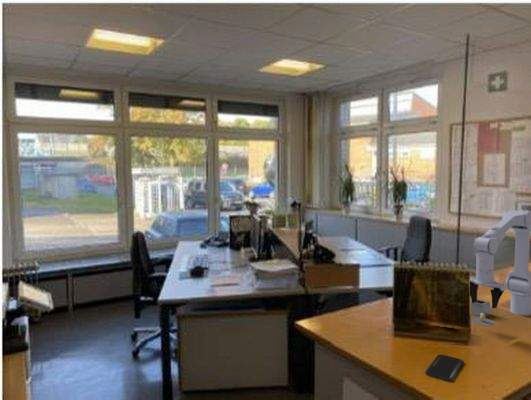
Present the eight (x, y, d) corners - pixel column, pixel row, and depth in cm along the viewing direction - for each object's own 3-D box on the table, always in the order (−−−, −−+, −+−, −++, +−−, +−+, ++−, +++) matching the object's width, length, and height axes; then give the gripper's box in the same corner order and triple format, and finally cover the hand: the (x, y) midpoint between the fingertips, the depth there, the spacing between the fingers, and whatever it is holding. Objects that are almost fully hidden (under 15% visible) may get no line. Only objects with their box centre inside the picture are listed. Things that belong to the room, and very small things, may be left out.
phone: (464, 360, 131) (451, 379, 119) (464, 363, 131) (451, 383, 119) (438, 353, 136) (423, 371, 124) (438, 356, 136) (423, 375, 124)
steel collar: (477, 310, 173) (477, 298, 173) (490, 314, 169) (490, 302, 168) (469, 313, 170) (470, 301, 170) (482, 317, 166) (483, 305, 165)
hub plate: (478, 319, 166) (478, 309, 166) (496, 324, 160) (496, 314, 160) (469, 323, 162) (469, 313, 162) (486, 328, 157) (486, 318, 156)
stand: (476, 312, 174) (476, 305, 173) (491, 316, 169) (491, 309, 168) (468, 315, 170) (468, 308, 170) (483, 319, 165) (483, 312, 165)
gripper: (460, 267, 156) (459, 301, 158) (499, 275, 144) (498, 312, 145) (470, 264, 160) (470, 298, 161) (509, 271, 148) (508, 308, 149)
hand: (484, 304), depth 154 cm, fingers open, 7 cm apart
